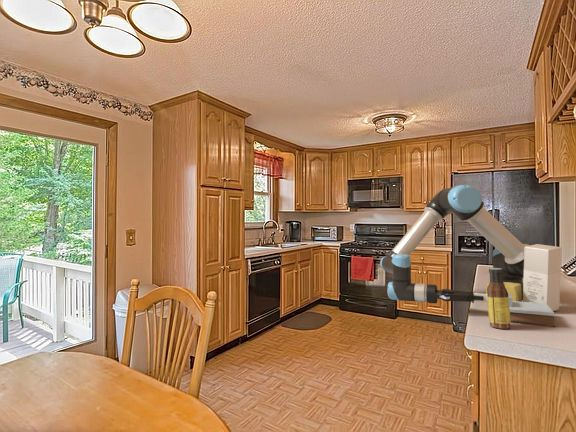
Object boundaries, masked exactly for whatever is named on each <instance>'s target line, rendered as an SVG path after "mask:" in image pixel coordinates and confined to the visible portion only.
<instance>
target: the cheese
mask: <svg viewBox="0 0 576 432" xmlns="http://www.w3.org/2000/svg"><path fill="white" fill-rule="evenodd" d="M503 283H504V285H505V288H506V290H507V292H508V294H510V295H511V297H512V301H519V302H523V300H522V293H521V284H517V283H510V282H503ZM489 284H490V282H488V283H486V287H485V289H486V291H485V294H487V287H488V285H489ZM486 303H487V304H488V302H486Z"/></svg>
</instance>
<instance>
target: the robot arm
mask: <svg viewBox="0 0 576 432" xmlns="http://www.w3.org/2000/svg"><path fill="white" fill-rule="evenodd" d="M423 210H424V212H422V214H421V215H420V216H419V217H418V218H417V219H416V221H415V222H414V223H413V224H412V226H411V227H410V228H409V230H407V232H406V233H405V234H404V235H403V237H402V238H401V239H400V240H399V242H398V243H397V244H396V245H395V246H394V247H393V249H391V251H390V252H389V253H388V254H387V255H385V256H383V257H381V259H380V262H379V265H380V267H381V269H382V270H383V271H384V272H386V273H389V274H392V281H389V282H388V284H387V297H388V298H389V299H390V300H393V301H394V300H395V301H404V302H415V303H417V302H418V303H417V304H421V303H426V302H427V303H428V304H437V303H438V300H442V301H444V302H467V303H468V302H469V303H471V302H472V304H475V302H483V303H484V302H485V303H487V302H488V300H487V294H486V293H477V292H476V293H475V292H474V290H471V291H465V290H456V289H450V288H442V289H440V290H439V289H438V285H437V284H430V283H428V284H426V283H418V282H415V283H414V282H412V262H411V254H412V253H413V252H414V251H415V249H416V248H417V247H418V246H419V245H420V244H421V242H422V241H423V240H424V239H425V238H426V236H427V235H428V234H429V233H430V232H431V230H432V229H433V228H434V227H435V226H436V224H438V222H442V221H443V219H444V218H445V217H447V216H448V215H450V214H453V215H455V216H456V218H458V219H459V220H460V221H462V222H468V224H470V225H471V226H472V227H473V228H474V229H475V230H476V231H478V233H479V234H480V235H481V236H483V238H485V239H486V240H487V242H489V243H490V244H491V245H492V246H493V247H494V248H495V249H493V251H492V256H491V258H492V268H501V269H502V270H503V273H502V277H503V282H510V283H517V284H521V293H522V301H523V280H524V248H525V246H530V244H528V243H522V242H521V241H520V240H519V239H518V238H516V237H515V235H513V233H512V232H511V231H509V230H508V229H507V228H506V227H505V226H504V225H503V224H502V223H501V222H500V221H498V220H497V218H495V217H494V216H493V215H492V214H491V213H490V212H489V211H488V210H487V209H486V208H485V202H484V200H483V198H482V193H480V191H479V190H478V189H477V188H476V187H474V186H472V185H469V184H467V185H466V184H459V185H456V186H453V187H446V188H442V189H441V190H440V191H438V192H437V193H436V194H435V195H434V196H433V197H432V198H431V199H430V200H429V201H428V203H427V204H426V205H425V207H424V208H423Z"/></svg>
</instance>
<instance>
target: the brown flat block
mask: <svg viewBox="0 0 576 432" xmlns="http://www.w3.org/2000/svg"><path fill="white" fill-rule="evenodd" d="M510 321H511V323H510V324H519V323H520V324H522V325H530V326H539V327H540V326H541V327H549V328H556V320H555V316H547V315H536V314H526V313H515V312H510ZM520 324H519V325H520Z"/></svg>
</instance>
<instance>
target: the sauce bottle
mask: <svg viewBox="0 0 576 432" xmlns="http://www.w3.org/2000/svg"><path fill="white" fill-rule="evenodd" d="M488 273H489V283H490V284H489V285H488V287H487V286H486V287H487V300H488V303H487V310H488V311H487V313H488V321H489V326H490V327H492V328H495V329H499V330H508V329H510V328H511V324H512V323H511V321H510V308H509V297H508V292H507V290H506V288H505V285H504V283H503V277H502V273H503V270H502V269H501V268H493V267H490V268H489V269H488Z"/></svg>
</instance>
